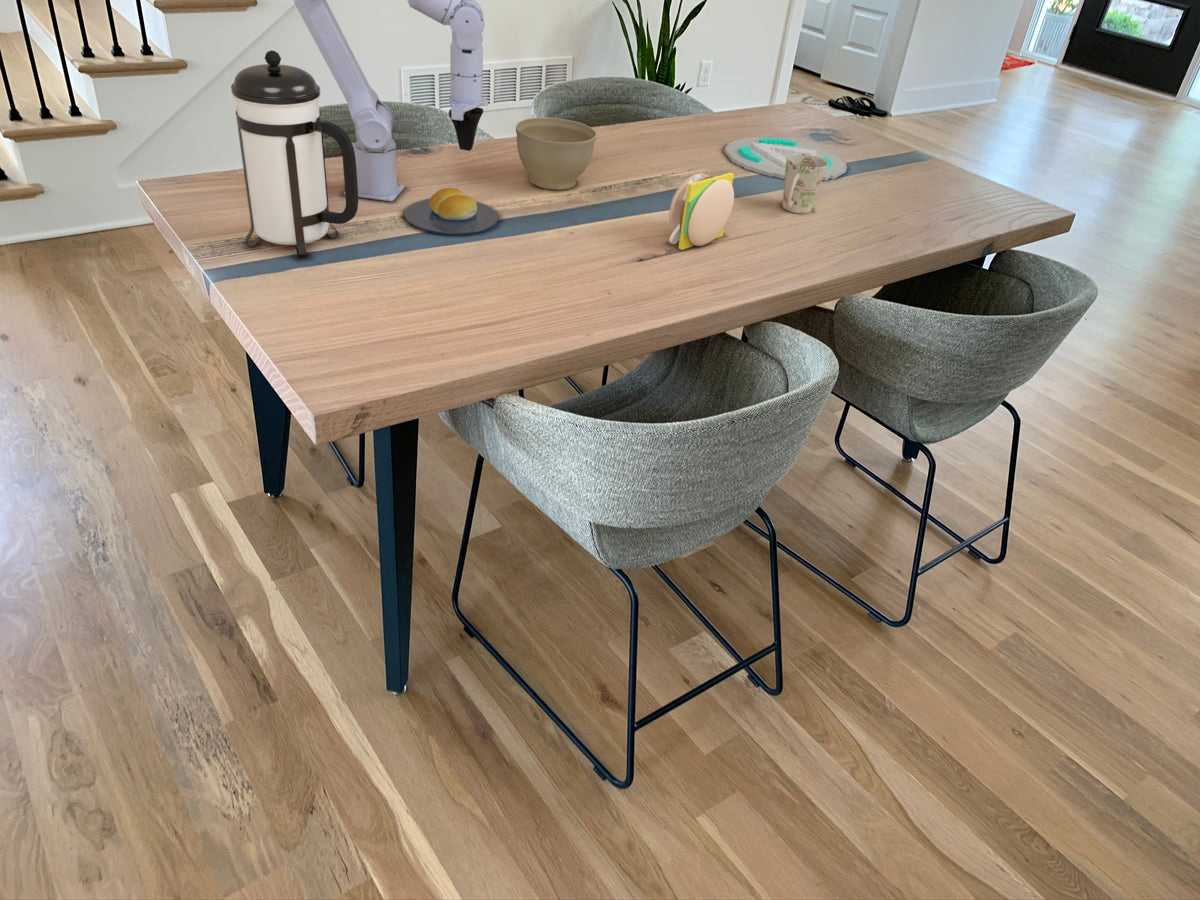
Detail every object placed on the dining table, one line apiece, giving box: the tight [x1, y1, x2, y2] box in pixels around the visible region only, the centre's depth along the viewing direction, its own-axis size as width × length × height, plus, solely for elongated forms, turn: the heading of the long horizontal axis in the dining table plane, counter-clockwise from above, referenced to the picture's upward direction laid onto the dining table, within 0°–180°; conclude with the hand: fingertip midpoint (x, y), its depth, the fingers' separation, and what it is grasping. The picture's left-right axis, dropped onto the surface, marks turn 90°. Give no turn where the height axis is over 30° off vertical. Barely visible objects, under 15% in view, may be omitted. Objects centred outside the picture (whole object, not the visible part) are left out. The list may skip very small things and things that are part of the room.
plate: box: [404, 198, 499, 237], centre depth 165 cm, size 17×17×1 cm
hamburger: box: [668, 172, 735, 251], centre depth 165 cm, size 12×8×12 cm
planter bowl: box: [515, 117, 598, 191], centre depth 182 cm, size 16×16×11 cm
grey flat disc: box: [723, 136, 848, 182], centre depth 212 cm, size 28×28×2 cm
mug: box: [781, 154, 828, 214], centre depth 182 cm, size 8×13×10 cm, turn 155°
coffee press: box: [230, 50, 359, 259], centre depth 142 cm, size 17×16×30 cm
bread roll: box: [429, 187, 477, 221], centre depth 165 cm, size 8×9×4 cm
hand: (466, 149), depth 169 cm, fingers closed
